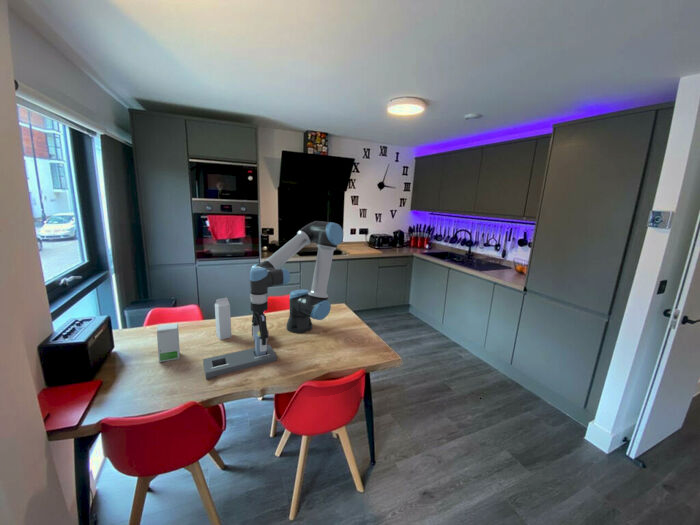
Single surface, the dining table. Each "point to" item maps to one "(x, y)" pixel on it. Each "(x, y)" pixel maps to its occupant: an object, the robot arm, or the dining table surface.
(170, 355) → the skincare box
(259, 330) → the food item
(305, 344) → the dining table surface
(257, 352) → the plug
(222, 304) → the milk
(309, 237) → the robot arm
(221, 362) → the panel
